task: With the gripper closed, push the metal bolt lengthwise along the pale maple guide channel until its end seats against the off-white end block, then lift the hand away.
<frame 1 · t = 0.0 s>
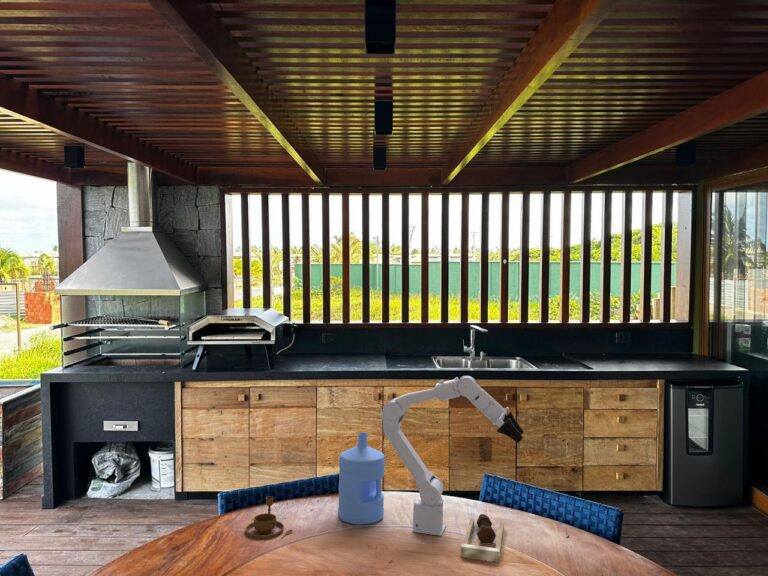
hand: (521, 437, 168), 32 cm above the table, tool tilted 50°, fingers open, 7 cm apart
place setting: (271, 528, 175), on the table
bolt: (485, 534, 173), on the table
water jug: (360, 516, 185), on the table
guide channel: (483, 541, 167), on the table
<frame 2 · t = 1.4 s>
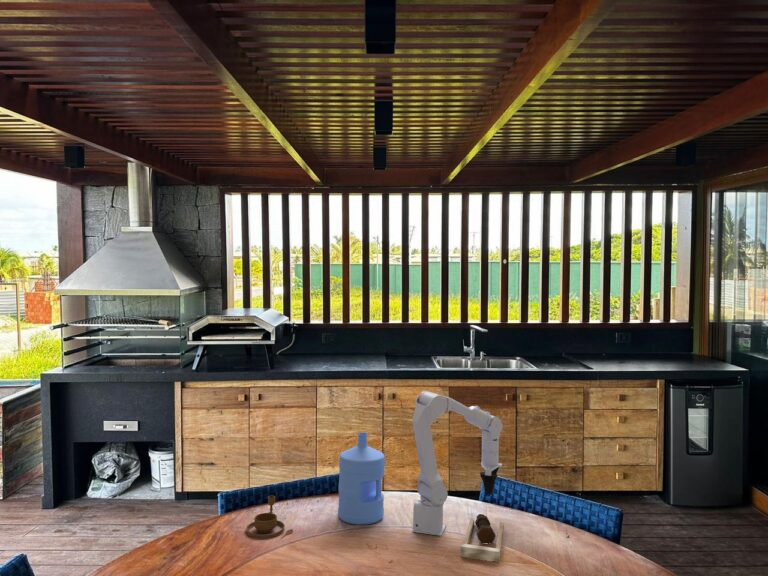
hand: (489, 490, 186), 9 cm above the table, tool pointing down, fingers open, 7 cm apart
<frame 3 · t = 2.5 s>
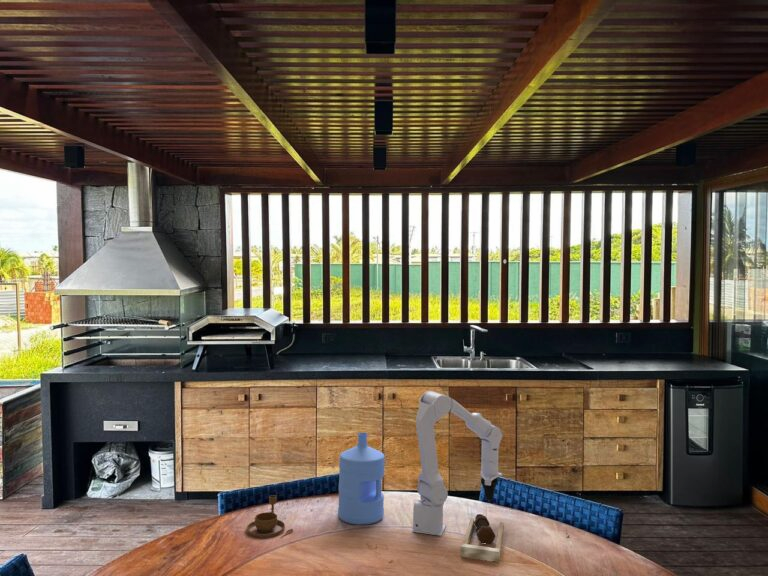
hand: (489, 499, 186), 6 cm above the table, tool pointing down, fingers closed
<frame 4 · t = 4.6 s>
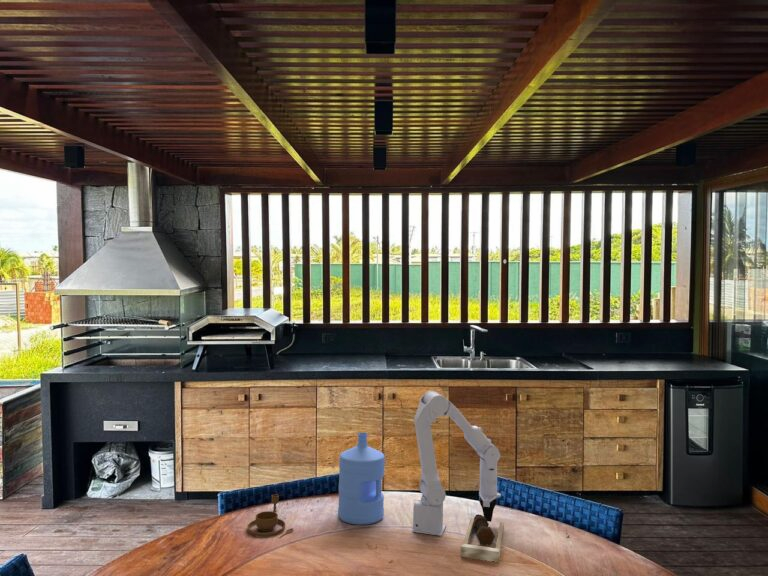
hand: (488, 521, 179), 2 cm above the table, tool pointing down, fingers closed, pressing on bolt
bolt: (482, 535, 172), on the table, touching gripper, guide channel
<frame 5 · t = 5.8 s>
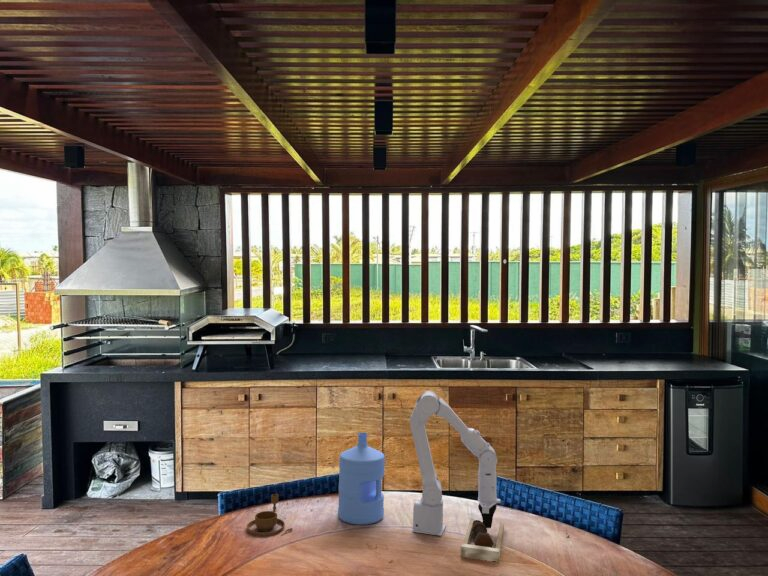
hand: (487, 527, 174), 2 cm above the table, tool pointing down, fingers closed, pressing on bolt
bolt: (480, 541, 168), on the table, touching gripper, guide channel
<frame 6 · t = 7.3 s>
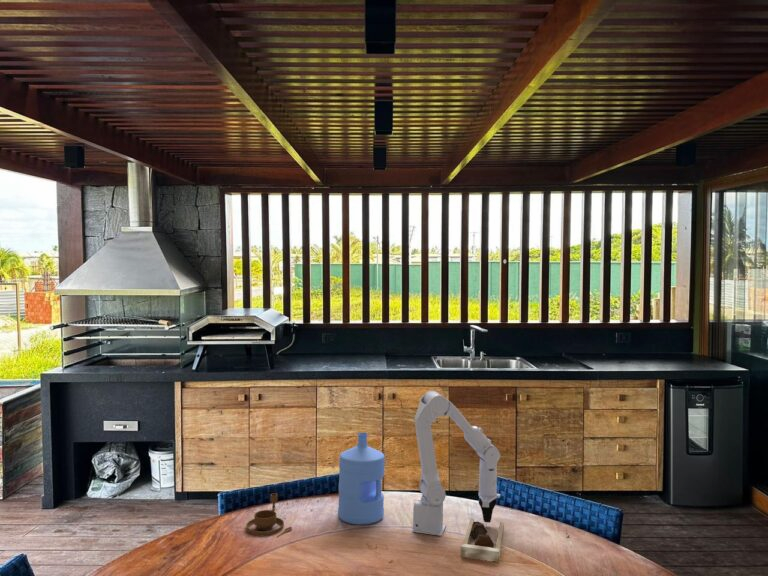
hand: (487, 521, 179), 1 cm above the table, tool pointing down, fingers closed
bolt: (481, 543, 167), on the table, touching guide channel
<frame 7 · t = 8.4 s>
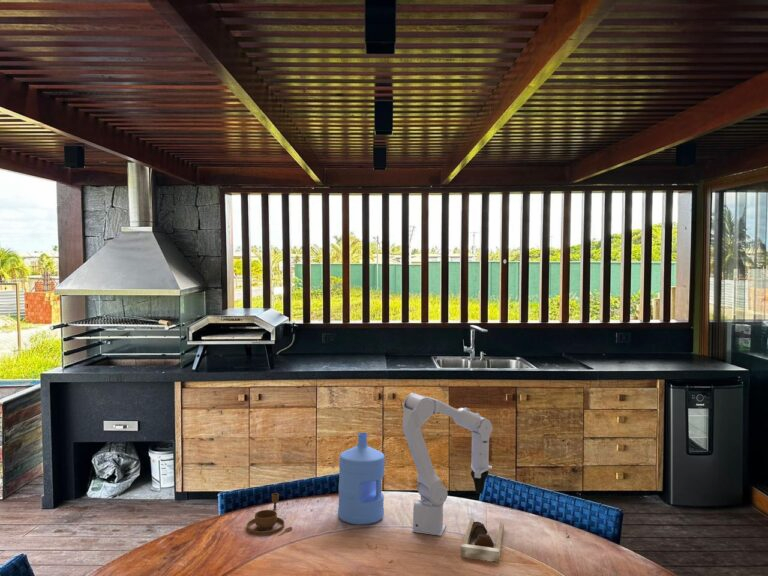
hand: (479, 492, 183), 9 cm above the table, tool pointing down, fingers closed
bolt: (481, 543, 167), on the table
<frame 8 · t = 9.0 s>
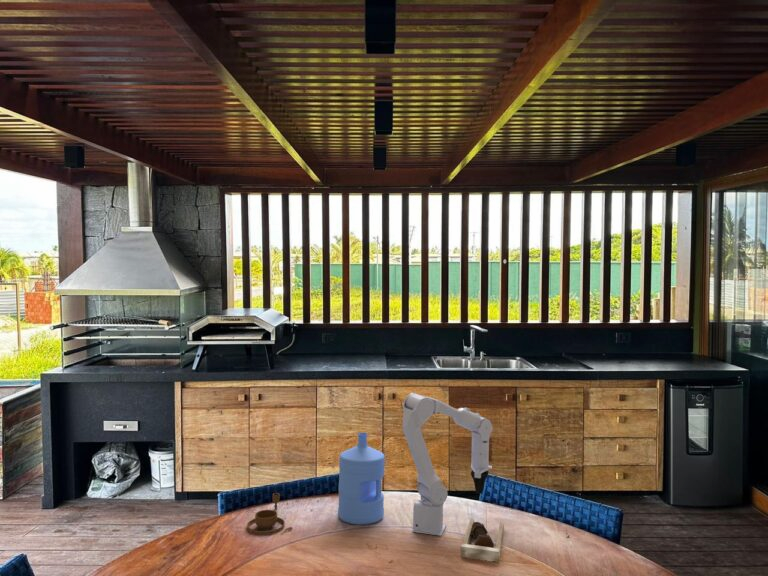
hand: (479, 492, 183), 9 cm above the table, tool pointing down, fingers closed
at the end: bolt 2.1 cm from the target spot, on the table; bolt moved 7.0 cm from its start; the gripper is holding nothing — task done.
